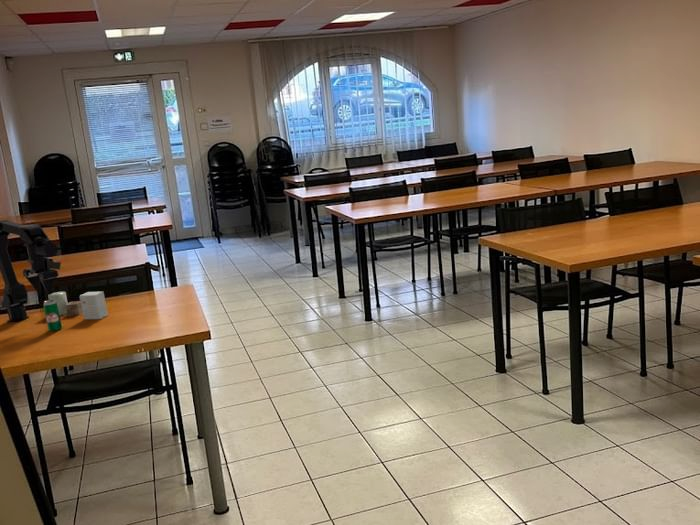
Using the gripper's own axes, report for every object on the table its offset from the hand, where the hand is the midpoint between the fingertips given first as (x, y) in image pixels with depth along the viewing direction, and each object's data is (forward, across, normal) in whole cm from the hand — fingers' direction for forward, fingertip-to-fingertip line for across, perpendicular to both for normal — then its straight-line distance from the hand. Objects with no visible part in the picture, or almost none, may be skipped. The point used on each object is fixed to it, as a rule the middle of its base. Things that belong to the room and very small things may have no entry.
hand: (44, 293), depth 268 cm
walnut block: (+13, +3, -13) cm, 18 cm away
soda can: (+13, -11, +4) cm, 18 cm away
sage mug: (+13, +11, -10) cm, 20 cm away
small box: (+13, -12, -14) cm, 22 cm away
